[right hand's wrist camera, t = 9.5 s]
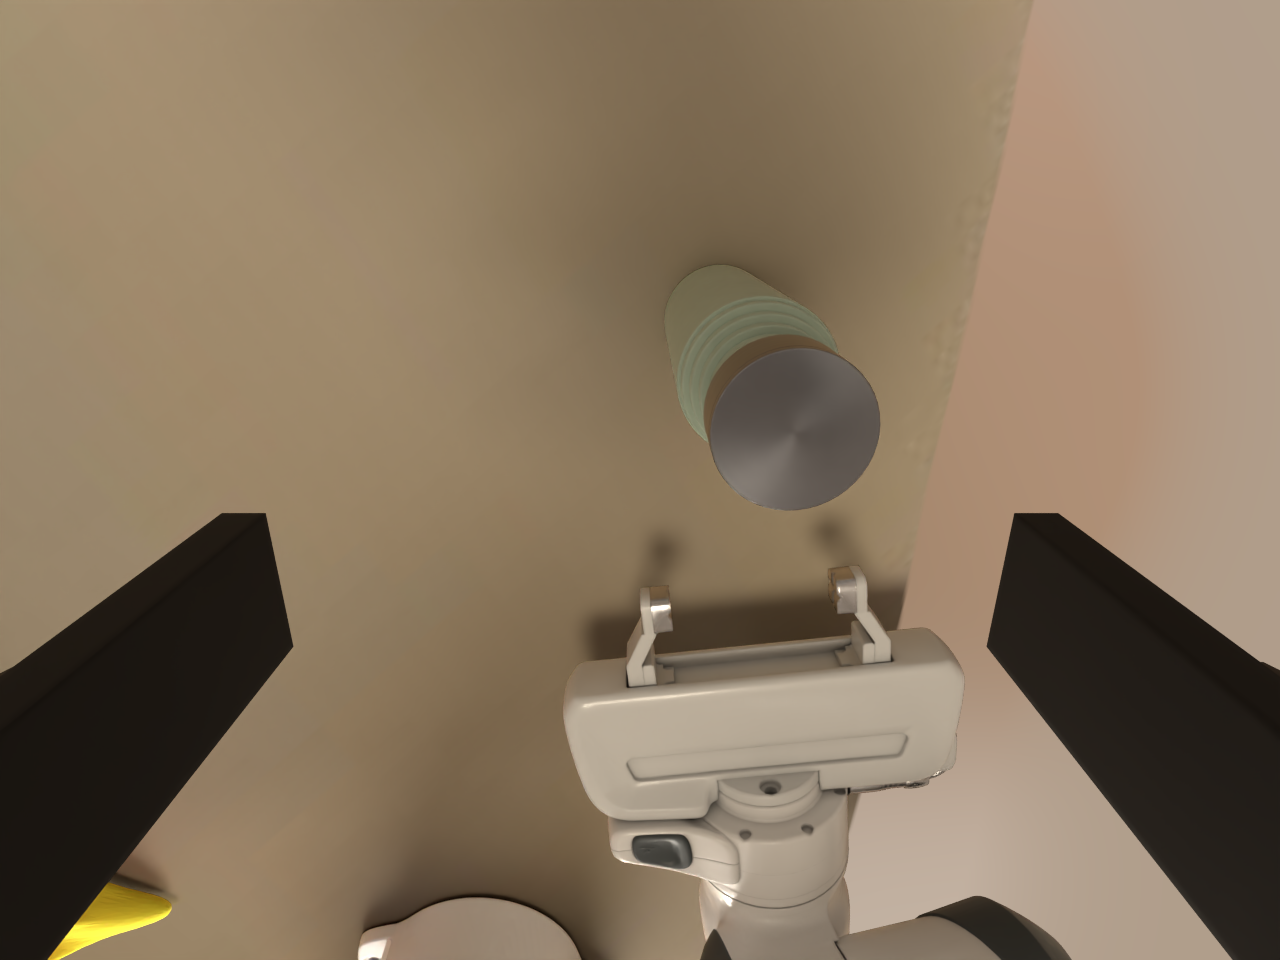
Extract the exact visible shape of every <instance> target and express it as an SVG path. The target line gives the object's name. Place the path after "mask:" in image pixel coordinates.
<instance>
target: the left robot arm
mask: <svg viewBox="0 0 1280 960" xmlns="http://www.w3.org/2000/svg"><path fill="white" fill-rule="evenodd" d="M828 578H829V580H830V583H829V584H828V592H829V597H830V600H831V602H832V603H834V608H835V610H836V612H837V614H846V613H854V614H855V615H856V617H857V618H858V620H855V621H852V622H851V635H843V636H833V637H824V638H814V639H804V640H794V641H784V642H774V643H764V644H754V645H745V646H735V647H725V648H715V649H705V650H695V651H685V652H676V653H666V654H656V655H655V651H654V645H653V641H654V639H655V637H656V635H657V633H661V632H669V631H673V621H672V610H671V601H670V593H669V585H667V586H655V587H645V588H640V607H641V617H640V619H639V621H638V623H637V625H636V627H635V629H634V631H633V633H632V635H631V637H630V639H629V641H628V643H627V657H626V658H616V659H606V660H595V661H586V662H582V663H580V664H579V665H578V666H577V667H576V668H575V669H574V671H573V672H572V674H571V675H570V677H569V679H568V681H567V684H566V689H565V695H564V705H563V718H564V725H565V730H566V734H567V738H568V742H569V746H570V750H571V753H572V756H573V760H574V763H575V766H576V769H577V771H578V774H579V777H580V779H581V782H582V784H583V787H584V789H585V792H586V794H587V795H588V797H589V799H590V800H591V802H592V803H593V804H594V805H595V806H596V808H597V809H599V810H600V811H601V812H602V813H604V814H606V815H608V830H609V839H610V847H611V851H612V853H613V855H614V856H615V857H616V858H617V859H618V860H620V861H623V862H626V863H632V864H638V865H645V866H651V867H657V868H663V869H668V870H673V871H677V872H682V873H686V874H690V875H693V876H697V877H700V878H701V879H700V886H699V902H700V909H701V917H702V923H703V929H704V934H705V939H706V944H705V946H704V949H703V952H702V956H701V959H700V960H1071V958H1070V957H1069V955H1068V954H1067V953H1066V951H1065V950H1064V949H1063V947H1062V946H1061V945H1060V944H1059V943H1058V942H1057V941H1056V940H1055V939H1054V938H1053V937H1052V936H1051V935H1049V934H1048V933H1047V932H1046V931H1044V930H1043V929H1042V928H1040V927H1039V926H1037V925H1036V924H1034V923H1033V922H1031V921H1030V920H1028V919H1027V918H1025V917H1023V916H1022V915H1020V914H1018V913H1016V912H1015V911H1013V910H1011V909H1009V908H1007V907H1006V906H1003V905H1001V904H999V903H997V902H995V901H993V900H991V899H988V898H986V897H982V896H973V897H970V898H967V899H964V900H961V901H958V902H955V903H953V904H950V905H947V906H944V907H941V908H939V909H936V910H933V911H930V912H927V913H924V914H922V915H919V916H918V917H917V918H915V919H913V920H909V921H904V922H900V923H896V924H892V925H887V926H883V927H879V928H875V929H870V930H866V931H862V932H858V933H853V934H849V922H850V904H849V895H848V889H847V885H846V882H845V879H844V873H845V871H846V867H847V862H848V850H849V847H848V794H852V793H853V794H855V793H866V792H875V791H881V790H886V789H890V788H899V787H904V788H918V787H923V786H925V785H928V784H929V779H930V778H934V777H936V776H939V775H941V774H942V773H944V772H945V771H946V770H950V769H951V768H952V767H953V765H954V763H955V760H956V747H957V735H956V730H957V726H958V722H959V717H960V713H961V707H962V701H963V694H964V684H965V678H964V673H963V670H962V668H961V666H960V664H959V662H958V660H957V659H956V657H955V656H954V654H953V653H952V651H951V650H950V649H949V647H948V646H947V645H946V644H945V643H944V642H943V641H942V640H941V639H940V638H939V637H938V636H937V635H936V634H935V633H933V632H932V631H931V630H929V629H927V628H912V629H903V630H893V631H885V630H884V628H883V626H882V624H881V623H880V621H879V619H878V617H877V616H876V615H875V613H874V612H873V611H872V609H871V608H870V606H869V605H868V604H867V582H866V577H865V575H864V573H863V572H862V570H861V568H860V567H859V565H856V566H847V567H837V568H829V569H828ZM358 960H582V959H581V957H580V955H579V953H578V950H577V948H576V946H575V944H574V943H573V941H572V939H571V938H570V937H569V935H568V934H567V933H566V932H565V931H564V930H563V929H562V928H561V927H560V926H559V925H558V924H557V923H555V922H554V921H553V920H551V919H550V918H548V917H547V916H545V915H543V914H542V913H540V912H538V911H536V910H534V909H531V908H529V907H526V906H524V905H521V904H517V903H514V902H510V901H505V900H500V899H493V898H461V899H454V900H449V901H444V902H441V903H437V904H435V905H432V906H429V907H427V908H425V909H423V910H421V911H419V912H417V913H416V914H414V915H413V916H411V917H409V918H408V919H406V920H404V921H402V922H400V923H397V924H391V925H386V926H380V927H376V928H373V929H370V930H367V931H366V932H364V933H363V935H362V937H361V940H360V944H359V948H358Z"/></svg>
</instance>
